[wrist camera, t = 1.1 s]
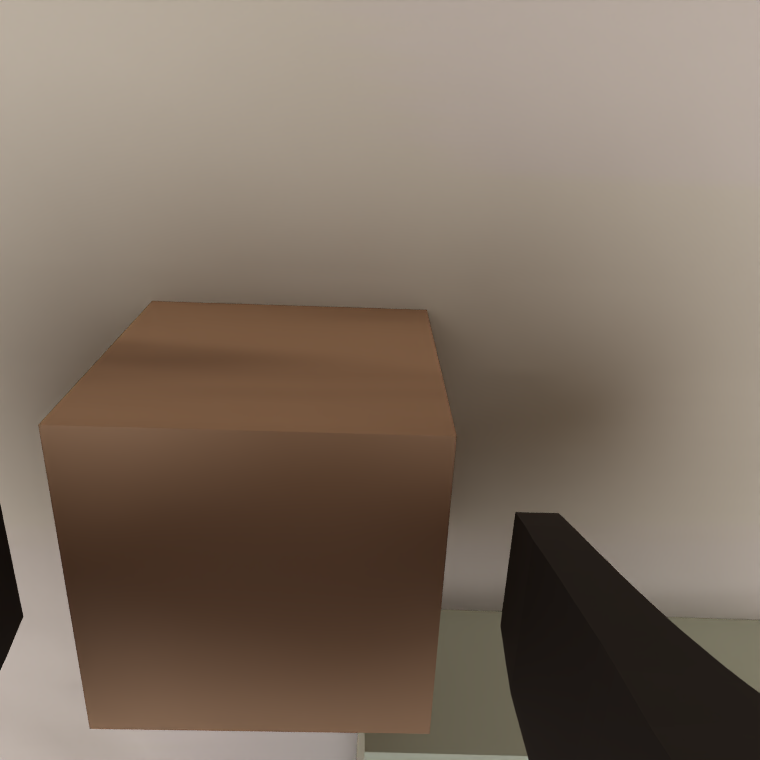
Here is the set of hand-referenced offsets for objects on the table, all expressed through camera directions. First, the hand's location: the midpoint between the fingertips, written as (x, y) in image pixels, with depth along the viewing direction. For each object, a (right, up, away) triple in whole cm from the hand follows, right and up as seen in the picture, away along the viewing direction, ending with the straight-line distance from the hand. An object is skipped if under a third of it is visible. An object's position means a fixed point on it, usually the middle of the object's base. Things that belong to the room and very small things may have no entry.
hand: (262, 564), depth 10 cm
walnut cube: (0, +2, +4) cm, 4 cm away
